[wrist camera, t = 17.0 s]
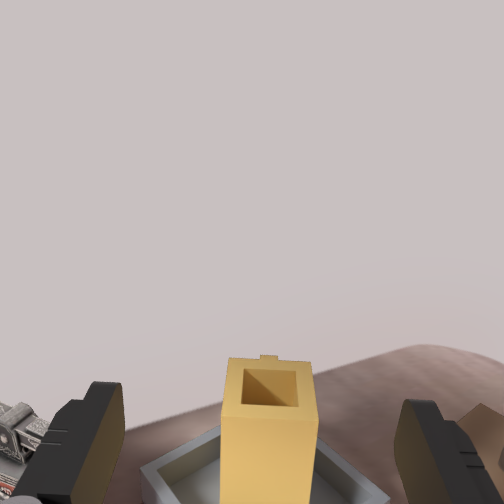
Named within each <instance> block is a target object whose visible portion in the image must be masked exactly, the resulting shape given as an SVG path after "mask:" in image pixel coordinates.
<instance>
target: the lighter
mask: <svg viewBox="0 0 504 504" xmlns="http://www.w3.org/2000/svg"><path fill="white" fill-rule="evenodd" d="M49 425H50V423H49V422H47V421H45V420H42V419H40V418H38V416H37V415H36V414H35V413H34V411H33V409H32V408H31V407H29V405H27V404H24V403H22V402H21V403H18V404H17V405H16V406H14V407H13V406H10V405H8V404H6V403H3V402H1V401H0V502H1V501H3V500H5V499H8V498H9V497H10V495H11V494H12V492H13V490H14V488H15V486H16V485H17V483H18V481H19V479H20V477H21V476H22V474H23V472H24V470H25V468H26V467H27V465H28V463H29V461H30V459H31V458H32V456H33V454H34V452H35V450H36V449H37V447H38V445H40V443H41V440H42V438H43V436H44V434H45V432H47V431H48V427H49Z"/></svg>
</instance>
